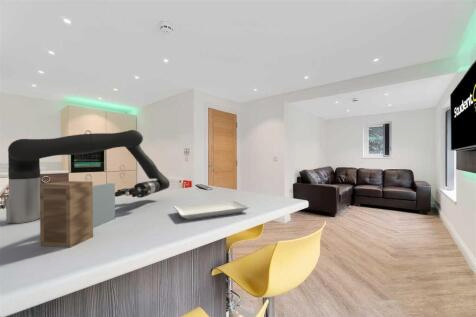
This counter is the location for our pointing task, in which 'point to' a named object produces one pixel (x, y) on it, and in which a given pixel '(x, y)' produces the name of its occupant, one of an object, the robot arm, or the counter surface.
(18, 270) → the counter surface
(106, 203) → the door
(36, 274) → the counter surface
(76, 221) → the cabinet
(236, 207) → the tray
